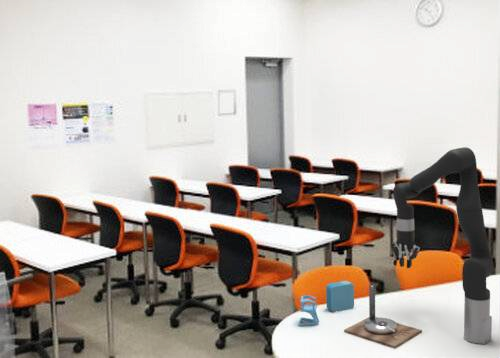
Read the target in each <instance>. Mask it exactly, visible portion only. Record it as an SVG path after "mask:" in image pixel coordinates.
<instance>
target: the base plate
mask: <svg viewBox="0 0 500 358" xmlns="http://www.w3.org/2000/svg"><path fill="white" fill-rule="evenodd" d="M375 318H379V317H377V316H375ZM368 319H369V316H368V317H367V318H365V319H362V320H361V321H359V322H357V323H355V324H353V325H351V326H348V327H346V328H345V329H343V333H345V334H349V335H351V336H354V337H358V338H361V339H364V340H368V341H371V342H373V343H377V344H380V345H383V346H385V347H389V348H392V349H397V348H399V347H401V346H402V345H403V344H405V343H407V342H409V341H410V340H412V339H414V338H416V337H417V336H418V335H420V334H422V333H423V330H422V329H419V328H416V327H413V326H409V325H405V324H403V323H399V322H396V323H397V330H396V331H395V332H393V333H390V334H375V333H371V332H369V331H367V330H366V329H365V327H364V322H365V321H366V320H368Z"/></svg>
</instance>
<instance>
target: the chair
mask: <svg viewBox="0 0 500 358" xmlns="http://www.w3.org/2000/svg"><path fill="white" fill-rule="evenodd" d="M311 299H312V300H311ZM316 301H317V297H314V296H313V295H308V294H307V295H301V296H300V305H301V307H300V311H299V312H300V313H302V312H303V313H308V314H309V315H310V316H311V317H312V318H307V317H300V318H299V322H298V326H299V327H305V326H307V327H308V326H318V325H319V323H320V320H319V316H318V313H317V307H318V305H317V304H316ZM306 303H310V304H306ZM302 321H306V322H305V323H302Z"/></svg>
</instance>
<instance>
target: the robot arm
mask: <svg viewBox="0 0 500 358" xmlns="http://www.w3.org/2000/svg"><path fill="white" fill-rule="evenodd" d="M476 158H477V157H476V155H475V153H474V151H473V150H472V149H471V148H469V147H467V146H463V147H459V148H458V147H457V148H454V149H450V150H449V151H447V152H446V153H444V154H443V155H442V156H441V157H440V158H439V159H437V161H436V162H434V163H433V164H432V165H429V167H427V168H425V169H423V170H422V171H421V172H419V173H417V174H415V175H413V177H411V178H410V180H409V181H407V182H406V181H405V182H400V183H397V184H396V185H395V186H394V187H393V190H392V195H393V201H394V204H395V207H396V225H395V226H396V241H395V242H392V243H390V246H391V249H392V251H393V253H394V255H395V257H397V258H399V259H398V260H399V263H398V264H399V266H400V267H401V268H404V267H405V255H406V269H410V268H412V264H413V262H412V261H413V260H414V259H417V256H418V254H419V252H420V250H421V246H417V245H416V243H415V215H414V214H415V208H414V205H412V204H409V203H408V199H412V198H415V197H417V196H419V195H420V194H421V193H422V192H423V191H425V190H427V189H429V188H430V187H433V186H434V185H435V184H436V183H437V182H438V181H439V180H440V179H441V178H443V177H446V176H448V175H452V174H458V173H459V180H460V186H459V187H460V188H459V191H458V192H459V193H458V196H457V200H456V207H455V208H456V215H457V216H456V217H457V221H458V224H459V227H460V229H461V231H462V232H463V234H464V236H465V237H466V239H467V243H468V245H469V251H470V253H469V254H470V258H469V257H468V259H466V260H464V263H463V264H462V268H461V269H462V271H461V275H462V277H461V279H462V280H461V281H462V289H463V292H464V313H463V314H464V317H463V322H464V323H463V338H464V340H465V341H467V342H469V343H473V344H480V345H481V344H482V345H486V344H488V343H489V342H490V341H491V340H492V333H493V332H492V325H493V318H492V317H493V316H491V315H490V313H491V312H490V310H491V308H490V307H491V301H490V300H491V291H490V289H488V288H487V278H489V277H490V276H491V275H492V274H493V272H494V262H493V258H492V254H491V251H490V247H489V243H488V238H487V232H486V231H487V230H486V226H485V219H484V218H485V217H484V213H483V212H484V211H483V208H482V201H481V197H480V190H479V181H478V170H477V169H478V167H477V159H476Z"/></svg>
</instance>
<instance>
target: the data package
mask: <svg viewBox="0 0 500 358" xmlns="http://www.w3.org/2000/svg"><path fill="white" fill-rule="evenodd" d="M325 289H326V290H325V291H326V293H325V294H326V299H325V300H326V308H327V310H329V311H331V312H333V313H337V312H342V311H346V310H353V308H354V307H355V285H354V284H353V283H352V282H350V281H348V280H343V281H338V282H332V283H328V284H327V285H326V287H325ZM336 311H337V312H336Z"/></svg>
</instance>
